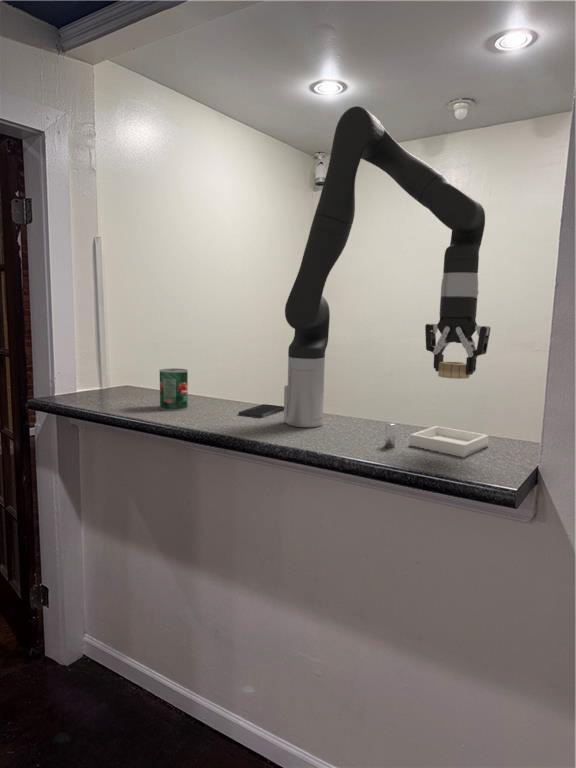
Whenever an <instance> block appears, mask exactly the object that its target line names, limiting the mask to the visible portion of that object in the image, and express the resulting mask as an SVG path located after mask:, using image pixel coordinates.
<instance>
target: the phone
mask: <svg viewBox="0 0 576 768" xmlns="http://www.w3.org/2000/svg"><path fill="white" fill-rule="evenodd" d="M280 412H284V405H283V406H282V405H274V404H266V403H264V404H260V405H257V406H254V407H251V408H250V407H249V408H247V409H244V410H240V411H238V416H240V417H241V416H242V417H248V418H249V417H250V418H255V419H256V418H257V419H264V418H267V417H269V416H273V415H275V414H279V413H280Z"/></svg>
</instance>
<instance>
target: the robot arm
mask: <svg viewBox="0 0 576 768" xmlns="http://www.w3.org/2000/svg"><path fill="white" fill-rule="evenodd" d="M334 131H335V132H334V135H333V141H332V147H331V151H330V157H329V162H328V166H327V170H326V174H325V177H324V181H323V184H322V185H323V186H322V187H321V188H322V189H321V192H320V196H319V199H318V203H317V206H316V209H315V212H314V215H313V218H312V222H311V226H310V230H309V233H308V238H307V241H306V244H305V248H304V252H303V256H302V260H301V263H300V267H299V270H298V272H297V275H296V278H295V280H294V282H293V285H292V288H291V290H290V292H289V295H288V297H287V300H286V303H285V306H284V315H285V316H284V317H285V320H286V322H287V324H288V325H289V326H290V327H291V328H292V329H294V336H293V339H292V341H291V343H290V344H289V346H288V351H287V352H288V355H287V385H284V391H283V392H284V395H283V396H284V397H283V400H284V401H283V406H284V411H283V423H285V424H287V425H288V426H292V427H297V428H315V427H321V426H322V425H323V422H324V421H323V420H324V418H323V417H324V398H325V397H324V396H325V395H324V393H325V392H324V390H325V389H324V387H325V365H326V364H325V361H326V349H327V347H328V343H329V333H330V305H329V303H328V301H327V299H326V298H325V297H324V296H323V292H324V289H325V285H326V282H327V280H328V277H329V275H330V272H331V270H332V269H333V268H334V266H335V264H336V263H337V262H338V259H339V258H340V256H341V255H342V253H343V251H344V249H345V248H346V246H347V243H348V239H349V237H350V233H351V231H352V227H353V224H354V218H355V212H356V211H355V210H356V194H355V193H356V192H355V191H356V177H357V172H358V168H359V165H360V162H361V160H363V161H366V162H367V163H370V164H372V165H373V166H375V167H377V168H379V169H380V170H382V171H383V172H384V173H386V174H387V175H388V176H390V178H392V179H393V181H395V183H396V184H398V185H399V187H400V188H402V190H404V191H405V193H407V194H408V195H409V196H410V197H412V198H413V199H414V200H416V201H417V202H418V203H419V204H420V205H422V206H423V207H425V208H426V209H428V210H429V211H430V212H431V213H432V214H433V215H434V217H436V218H437V219H438V220H439V222H441V223H442V224H443V225H444V226H446V227H447V228H448V229H450V230H451V236H450V245H449V246H447V247H446V248H445V251H444V258H443V271H442V280H441V287H440V302H439V303H440V304H439V321H438V322H437V323H426V324H425V329H424V330H425V332H424V333H425V350H426V352H427V351H429V352H431V353H432V354H433V369H434V370H435V372H437V373H438V370H439V362H443V361H444V354H443V353H444V352H445V350H446V348H447V347H448V346H449V345H450V343H456V344H461V345H462V347H463V348H464V349H465V352H466V354H467V356H468V357H466V375H469V376H470V375H473V374H474V373H475V372H476V370H477V358H478V357H479V356H482V355H486V354H487V350H488V346H489V339H490V333H491V327H490V326H488V325H478V324H477V321H476V318H477V308H478V307H477V306H478V295H479V277H478V275H479V274H478V273H479V262H480V261H479V260H480V256H479V254H480V248H481V245H482V242H483V241H482V240H483V236H484V231H485V226H486V213H485V209H484V207H483V206H482V204H481V203H480V202H478V201H477V200H475V199H473V198H471V197H470V196H469V195H467V194H466V193H465V192H463V191H461V190H460V189H458V187H456V186H454V185H453V184H452V183H451V182H450V181H449V180H448V179H447V178H446V177H445V176H444V175H442V174H441V173H440V172H439V171H438V170H436V169H435V168H433V167H432V166H431V165H430V164H428V163H427V162H425V161H424V160H422V159H420V158H418V157H417V156H415V155H413V154H412V153H410V152H409V151H407V150H406V149H405V148H404V147H402V146H401V144H399V142H398V141H396V140H395V139H394V138H393V137H392V136H391V134H390V133H389V132H388V131H387V130H386V128H385V127H384V126H383V125H382V123H381V121H380V120H379V119H378V118H377V117H376V116H375V115H373V114H372V113H371V112H370V111H369V110H367V109H366V108H364V107H362V106H357V105H356V106H352V107H350V108H348V109H347V110H346V111H344V113H343V114H342V115H341V116H340V118H339V120H338V122H337V125H336V127H335V130H334ZM438 331H439V333H440V336H439V338H438V340H437V338H436V337H437V336H436V334H437V332H438ZM475 332H476V334H477V336H478V339H477V346H476V343H475V340H474V339H473V335H474V334H475Z"/></svg>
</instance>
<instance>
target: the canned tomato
mask: <svg viewBox="0 0 576 768" xmlns="http://www.w3.org/2000/svg"><path fill="white" fill-rule="evenodd" d="M158 371H159V409H160V410H163V411H168V412H169V411H170V412H171V411H172V412H173V411H174V412H176V411H184V410H187V409H188V406H189V405H188V404H189V403H188V402H189V401H188V400H189V396H188V395H189V394H188V393H189V392H188V391H189V390H188V389H189V388H188V387H189V385H188V383H189V382H188V378H189V377H188V375H189V374H188V373H189V372H188V369H185V368H161V369H159V370H158Z"/></svg>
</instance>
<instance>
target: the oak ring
mask: <svg viewBox="0 0 576 768" xmlns="http://www.w3.org/2000/svg"><path fill="white" fill-rule="evenodd" d="M437 376H438V377H440V378H446V379H454V380H455V379H456V380H457V379H458V380H459V379H460V380H461V379H463V380H465V379H470V375H466V362H464V361H451V360H450V361H444V360H443V362H439V370H438V372H437Z"/></svg>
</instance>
